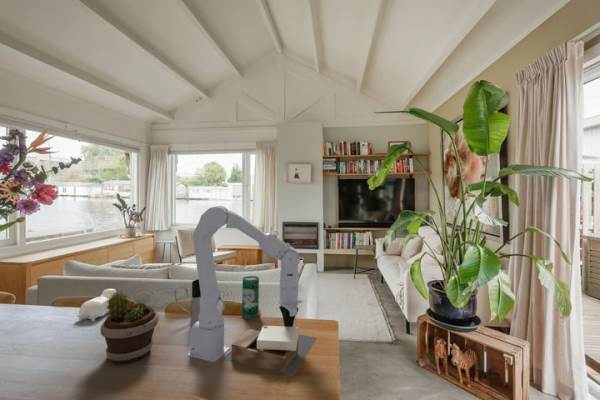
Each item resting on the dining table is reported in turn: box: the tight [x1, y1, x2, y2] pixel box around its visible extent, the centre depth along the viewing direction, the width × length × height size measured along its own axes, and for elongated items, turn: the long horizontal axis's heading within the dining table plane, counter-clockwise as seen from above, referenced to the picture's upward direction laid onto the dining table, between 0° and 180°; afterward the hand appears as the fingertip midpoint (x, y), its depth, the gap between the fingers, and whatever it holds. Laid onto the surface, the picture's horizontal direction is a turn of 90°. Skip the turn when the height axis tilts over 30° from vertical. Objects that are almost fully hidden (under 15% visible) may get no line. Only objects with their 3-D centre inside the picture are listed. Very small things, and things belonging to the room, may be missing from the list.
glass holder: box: [174, 278, 201, 326], centre depth 105 cm, size 9×14×15 cm, turn 103°
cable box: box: [231, 328, 298, 373], centre depth 81 cm, size 16×10×5 cm, turn 70°
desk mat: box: [221, 326, 317, 378], centre depth 86 cm, size 22×22×1 cm
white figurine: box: [77, 288, 117, 323], centre depth 110 cm, size 8×8×15 cm
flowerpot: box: [99, 288, 159, 364], centre depth 82 cm, size 14×15×20 cm
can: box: [241, 275, 260, 320], centre depth 110 cm, size 6×6×15 cm
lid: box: [257, 325, 299, 351], centre depth 81 cm, size 11×9×3 cm
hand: (288, 329), depth 86 cm, fingers closed, pressing on lid
